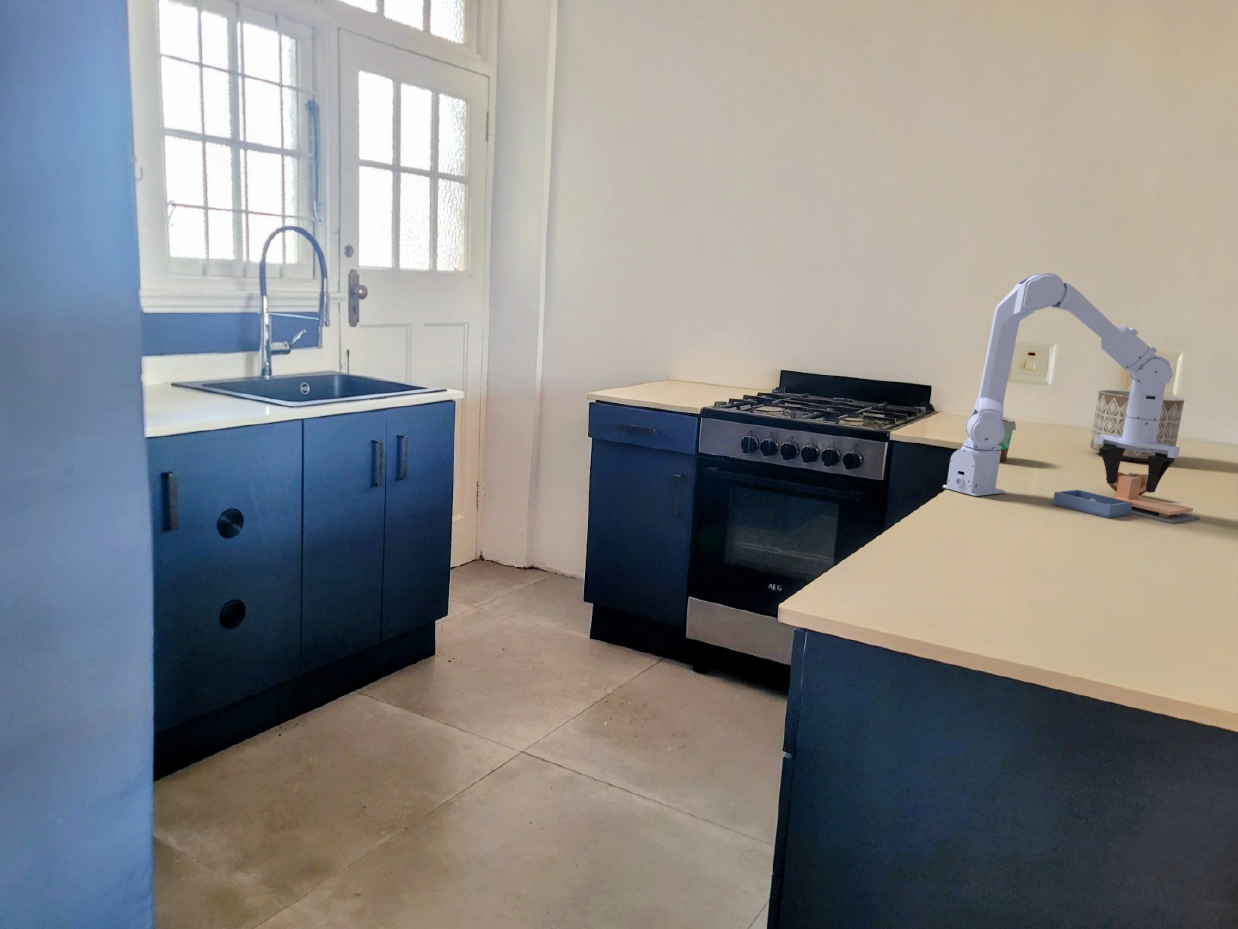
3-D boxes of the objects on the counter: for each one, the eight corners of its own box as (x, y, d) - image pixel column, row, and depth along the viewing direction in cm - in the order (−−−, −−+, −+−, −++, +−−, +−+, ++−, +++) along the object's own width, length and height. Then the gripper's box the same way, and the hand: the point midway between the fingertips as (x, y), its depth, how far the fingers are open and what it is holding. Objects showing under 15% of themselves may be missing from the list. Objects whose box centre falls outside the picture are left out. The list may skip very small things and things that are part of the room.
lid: (1169, 519, 172) (1174, 490, 171) (1107, 504, 182) (1112, 477, 180) (1191, 516, 176) (1197, 487, 175) (1130, 501, 186) (1135, 474, 185)
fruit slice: (1105, 496, 192) (1109, 472, 191) (1100, 490, 198) (1104, 467, 197) (1151, 501, 190) (1155, 477, 189) (1144, 495, 196) (1148, 471, 195)
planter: (1091, 458, 238) (1102, 394, 235) (1086, 447, 256) (1095, 387, 253) (1178, 468, 231) (1190, 402, 228) (1166, 457, 249) (1177, 395, 246)
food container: (1015, 465, 221) (1022, 423, 219) (988, 463, 222) (994, 421, 220) (1005, 456, 233) (1011, 416, 231) (979, 454, 234) (985, 414, 232)
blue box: (1108, 518, 172) (1110, 505, 171) (1052, 504, 181) (1054, 492, 180) (1130, 514, 176) (1132, 502, 175) (1075, 501, 185) (1077, 489, 184)
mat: (1172, 523, 171) (1172, 521, 171) (1103, 506, 181) (1103, 504, 181) (1199, 518, 176) (1199, 516, 176) (1131, 502, 187) (1131, 500, 187)
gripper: (1192, 423, 175) (1179, 494, 178) (1116, 411, 187) (1105, 478, 190) (1173, 424, 172) (1160, 497, 174) (1097, 412, 183) (1085, 480, 186)
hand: (1130, 487), depth 182 cm, fingers open, 7 cm apart
